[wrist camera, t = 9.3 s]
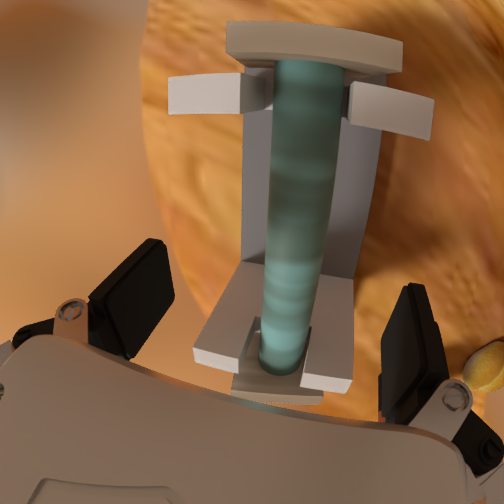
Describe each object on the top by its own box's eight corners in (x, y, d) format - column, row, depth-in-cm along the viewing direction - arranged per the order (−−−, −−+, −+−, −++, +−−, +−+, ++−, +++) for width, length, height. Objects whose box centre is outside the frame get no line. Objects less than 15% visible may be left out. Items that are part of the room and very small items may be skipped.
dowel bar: (248, 47, 12) (226, 21, 7) (361, 58, 12) (402, 41, 7) (242, 336, 23) (231, 398, 18) (316, 341, 22) (319, 404, 17)
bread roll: (488, 332, 24) (497, 356, 21) (522, 346, 23) (531, 367, 20) (448, 374, 29) (453, 398, 25) (485, 383, 28) (490, 404, 25)
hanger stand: (251, 41, 18) (171, -2, 8) (384, 53, 16) (436, 10, 6) (245, 296, 30) (201, 390, 20) (340, 313, 28) (331, 418, 18)
